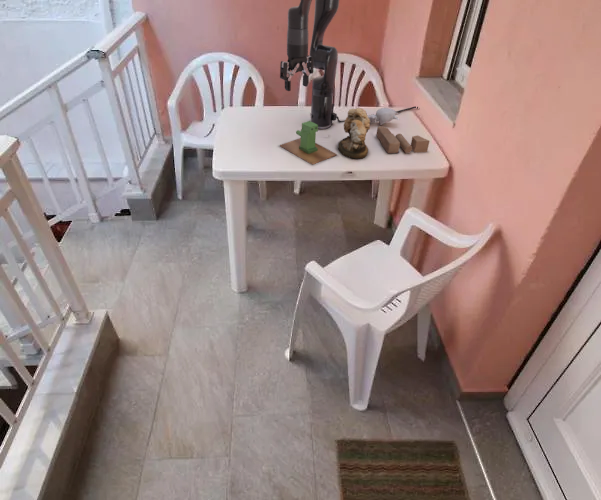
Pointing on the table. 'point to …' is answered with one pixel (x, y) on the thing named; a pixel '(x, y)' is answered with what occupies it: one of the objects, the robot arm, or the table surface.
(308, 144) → the toy dinosaur
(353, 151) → the tan lumpy upright piece
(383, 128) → the wooden block set
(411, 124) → the table surface
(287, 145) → the wooden board
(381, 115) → the toy creature
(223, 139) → the table surface
